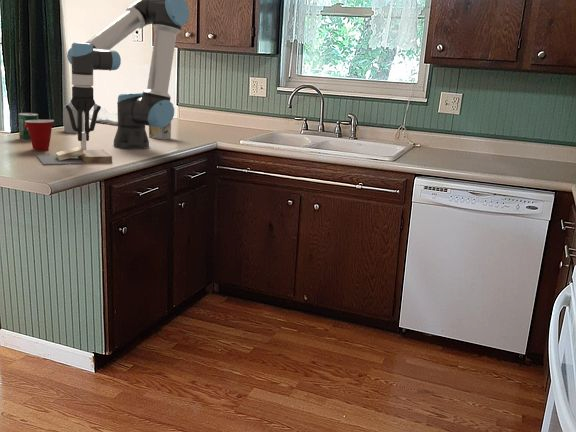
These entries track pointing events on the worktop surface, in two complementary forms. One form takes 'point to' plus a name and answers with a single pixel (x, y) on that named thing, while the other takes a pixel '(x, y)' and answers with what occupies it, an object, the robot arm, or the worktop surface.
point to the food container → (105, 116)
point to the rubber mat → (55, 161)
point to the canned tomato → (25, 125)
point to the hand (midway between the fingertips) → (83, 149)
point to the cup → (68, 123)
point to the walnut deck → (95, 156)
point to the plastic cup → (40, 133)
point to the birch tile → (69, 153)
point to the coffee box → (160, 132)
